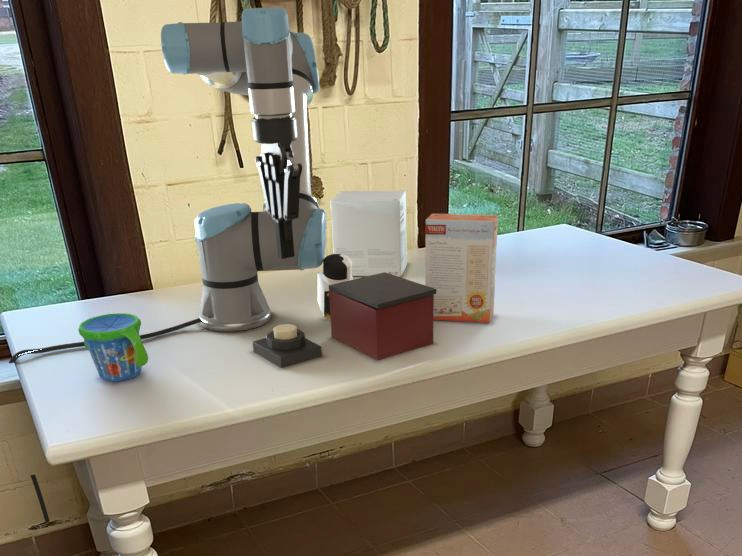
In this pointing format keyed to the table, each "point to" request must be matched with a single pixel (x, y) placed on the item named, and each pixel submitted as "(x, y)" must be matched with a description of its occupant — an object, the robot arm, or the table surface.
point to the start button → (285, 331)
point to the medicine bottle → (332, 278)
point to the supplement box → (371, 230)
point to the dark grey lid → (382, 290)
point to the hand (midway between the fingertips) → (286, 256)
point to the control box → (287, 349)
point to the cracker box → (461, 265)
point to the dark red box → (382, 325)
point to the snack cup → (114, 345)
